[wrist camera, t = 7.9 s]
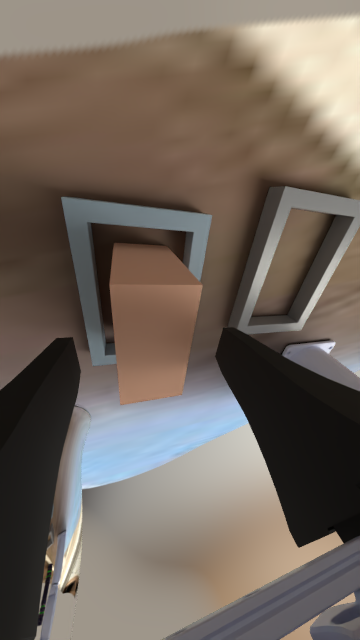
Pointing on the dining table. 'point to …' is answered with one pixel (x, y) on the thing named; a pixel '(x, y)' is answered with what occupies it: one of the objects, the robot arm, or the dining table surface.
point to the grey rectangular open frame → (264, 247)
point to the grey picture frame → (82, 249)
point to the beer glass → (64, 538)
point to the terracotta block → (151, 320)
